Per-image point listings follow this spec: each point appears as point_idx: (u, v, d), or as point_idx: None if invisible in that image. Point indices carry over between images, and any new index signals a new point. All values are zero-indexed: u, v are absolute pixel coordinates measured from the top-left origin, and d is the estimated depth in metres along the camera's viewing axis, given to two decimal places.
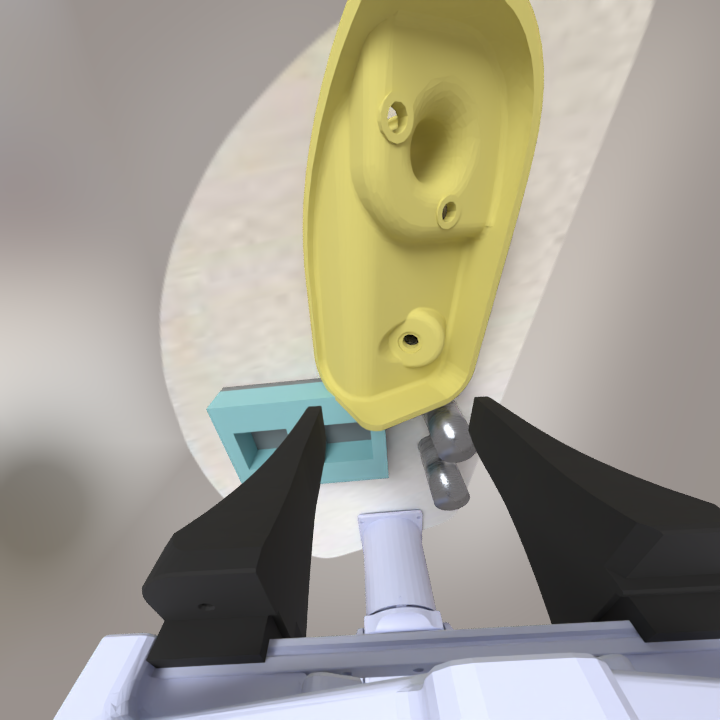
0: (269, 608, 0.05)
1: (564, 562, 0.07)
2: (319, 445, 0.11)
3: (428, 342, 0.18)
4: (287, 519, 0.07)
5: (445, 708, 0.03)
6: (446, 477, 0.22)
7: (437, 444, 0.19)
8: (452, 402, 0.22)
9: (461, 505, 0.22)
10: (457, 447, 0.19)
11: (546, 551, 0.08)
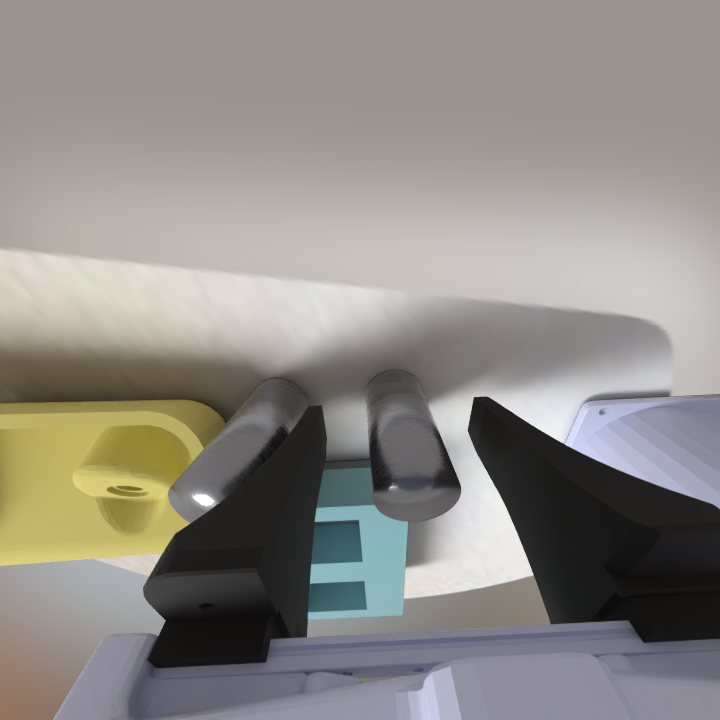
0: (270, 608, 0.05)
1: (563, 562, 0.07)
2: (319, 445, 0.11)
3: (107, 483, 0.12)
4: (288, 519, 0.07)
5: (445, 707, 0.03)
6: None
7: None
8: None
9: (446, 476, 0.08)
10: (207, 510, 0.09)
11: (545, 551, 0.08)
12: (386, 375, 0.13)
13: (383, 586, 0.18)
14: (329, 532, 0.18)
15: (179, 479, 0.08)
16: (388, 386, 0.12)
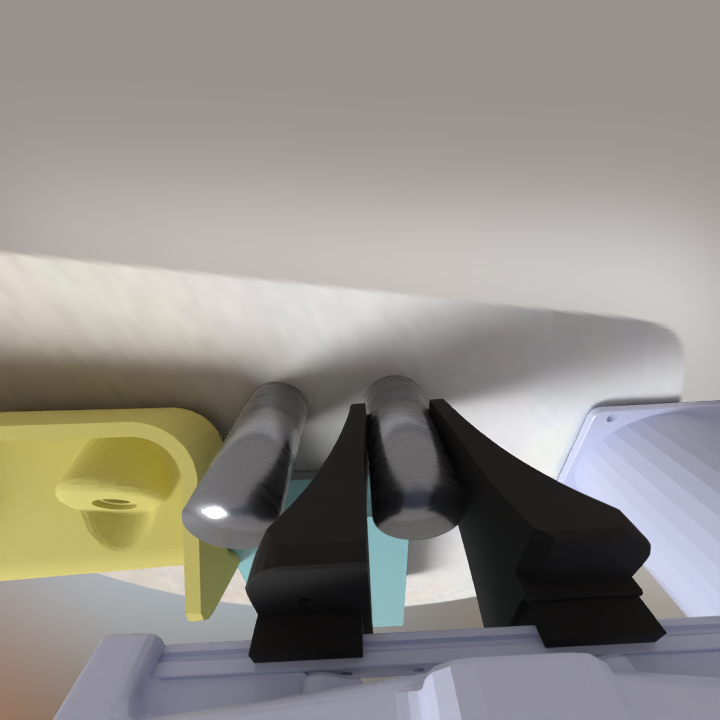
0: (365, 603, 0.05)
1: (490, 566, 0.07)
2: None
3: (91, 497, 0.11)
4: None
5: (445, 708, 0.03)
6: None
7: None
8: None
9: (451, 493, 0.08)
10: (228, 524, 0.08)
11: (479, 555, 0.08)
12: (386, 381, 0.12)
13: (382, 597, 0.17)
14: None
15: (196, 495, 0.08)
16: (388, 393, 0.12)
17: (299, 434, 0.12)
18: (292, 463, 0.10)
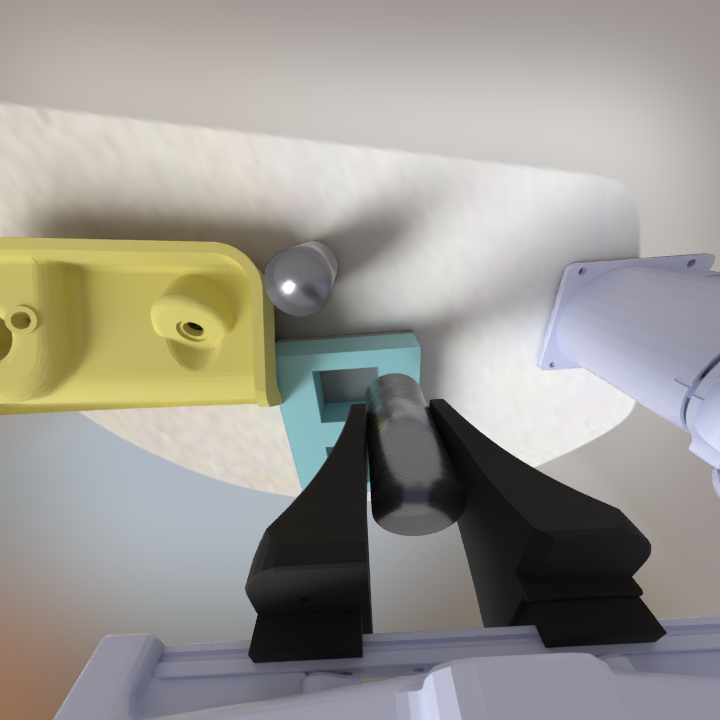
0: (365, 603, 0.05)
1: (490, 566, 0.07)
2: (366, 442, 0.11)
3: (178, 315, 0.15)
4: (365, 515, 0.07)
5: (445, 708, 0.03)
6: (370, 486, 0.09)
7: None
8: None
9: (452, 488, 0.08)
10: (295, 284, 0.12)
11: (479, 555, 0.08)
12: (386, 378, 0.12)
13: None
14: (350, 405, 0.21)
15: None
16: (389, 390, 0.12)
17: (335, 268, 0.15)
18: (333, 273, 0.14)
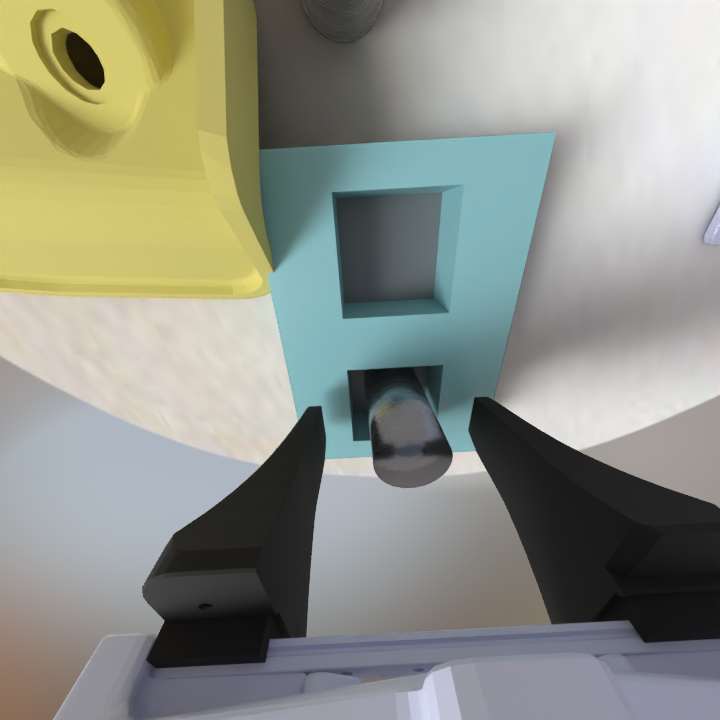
0: (269, 608, 0.05)
1: (564, 562, 0.07)
2: (319, 445, 0.11)
3: None
4: (287, 519, 0.07)
5: (445, 708, 0.03)
6: (371, 447, 0.11)
7: None
8: None
9: (440, 442, 0.09)
10: None
11: (546, 551, 0.08)
12: None
13: (467, 379, 0.12)
14: (389, 303, 0.13)
15: None
16: (386, 369, 0.13)
17: None
18: None
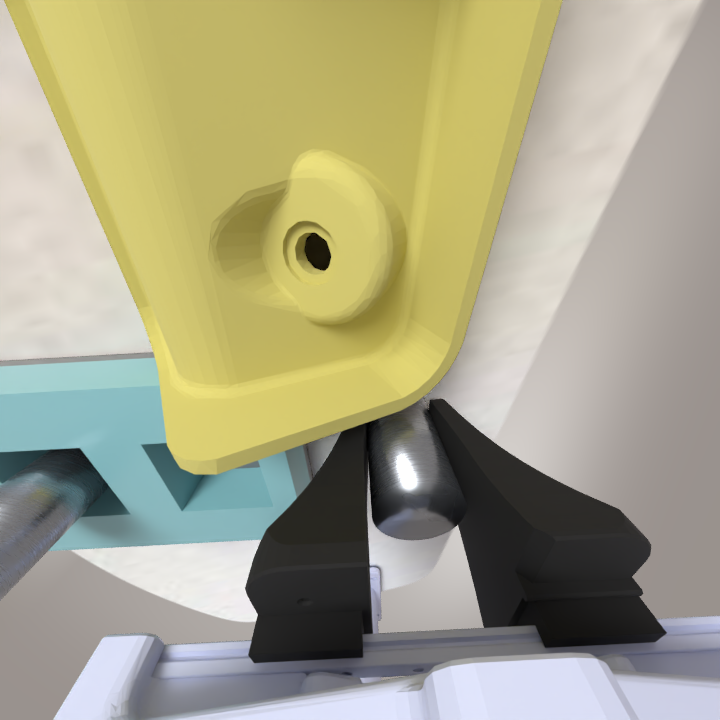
0: (365, 603, 0.05)
1: (490, 566, 0.07)
2: None
3: (351, 250, 0.07)
4: None
5: (445, 708, 0.03)
6: None
7: (373, 503, 0.08)
8: (420, 407, 0.11)
9: None
10: (419, 511, 0.08)
11: (479, 555, 0.08)
12: None
13: (125, 530, 0.13)
14: None
15: (461, 493, 0.08)
16: None
17: None
18: None
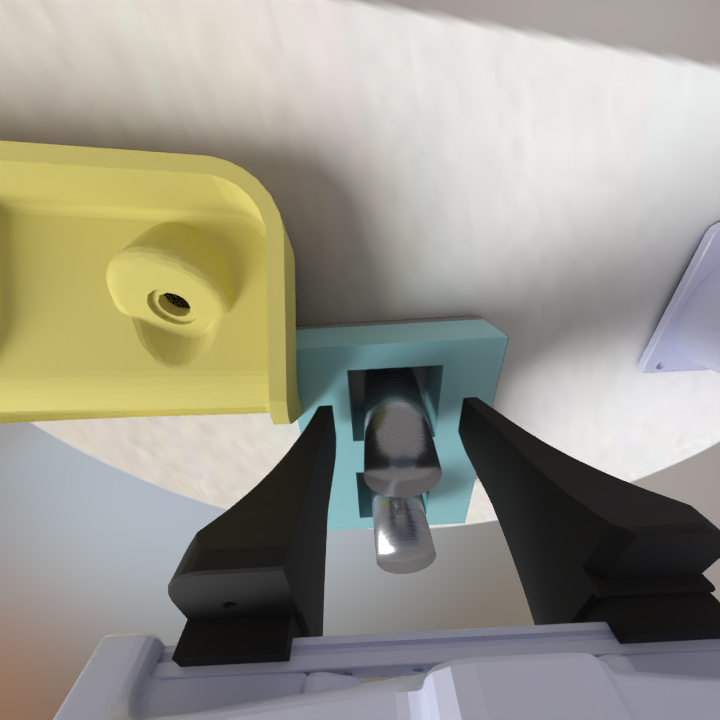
0: (293, 607, 0.05)
1: (546, 563, 0.07)
2: (331, 444, 0.11)
3: (150, 279, 0.09)
4: (306, 518, 0.07)
5: (445, 708, 0.03)
6: None
7: (364, 466, 0.10)
8: (410, 388, 0.12)
9: (428, 548, 0.13)
10: (402, 473, 0.10)
11: (529, 552, 0.08)
12: None
13: (451, 477, 0.16)
14: None
15: (437, 459, 0.10)
16: None
17: None
18: None
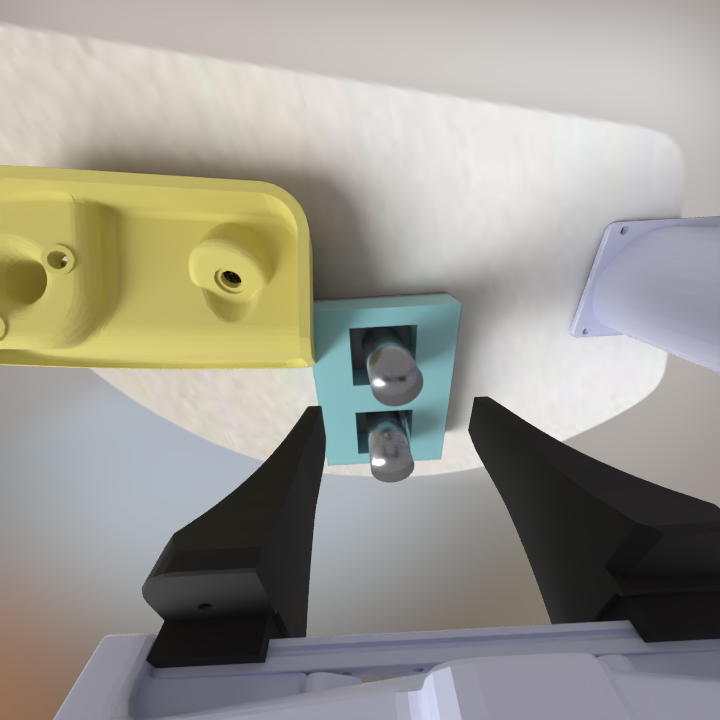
0: (269, 608, 0.05)
1: (564, 562, 0.07)
2: (319, 445, 0.11)
3: (219, 261, 0.14)
4: (287, 519, 0.07)
5: (445, 708, 0.03)
6: None
7: (371, 382, 0.15)
8: (396, 337, 0.17)
9: (408, 459, 0.18)
10: (397, 383, 0.15)
11: (546, 551, 0.08)
12: None
13: (428, 417, 0.21)
14: None
15: (418, 368, 0.14)
16: None
17: None
18: None
